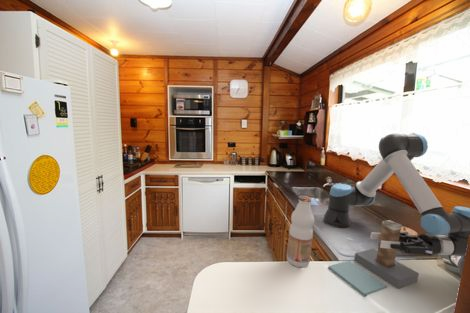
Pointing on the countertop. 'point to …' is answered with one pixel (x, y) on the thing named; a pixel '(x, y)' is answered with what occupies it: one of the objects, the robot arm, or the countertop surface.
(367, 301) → the countertop surface
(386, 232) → the walnut plug
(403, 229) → the lidded jar
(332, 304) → the countertop surface
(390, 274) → the block
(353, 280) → the pad
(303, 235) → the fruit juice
